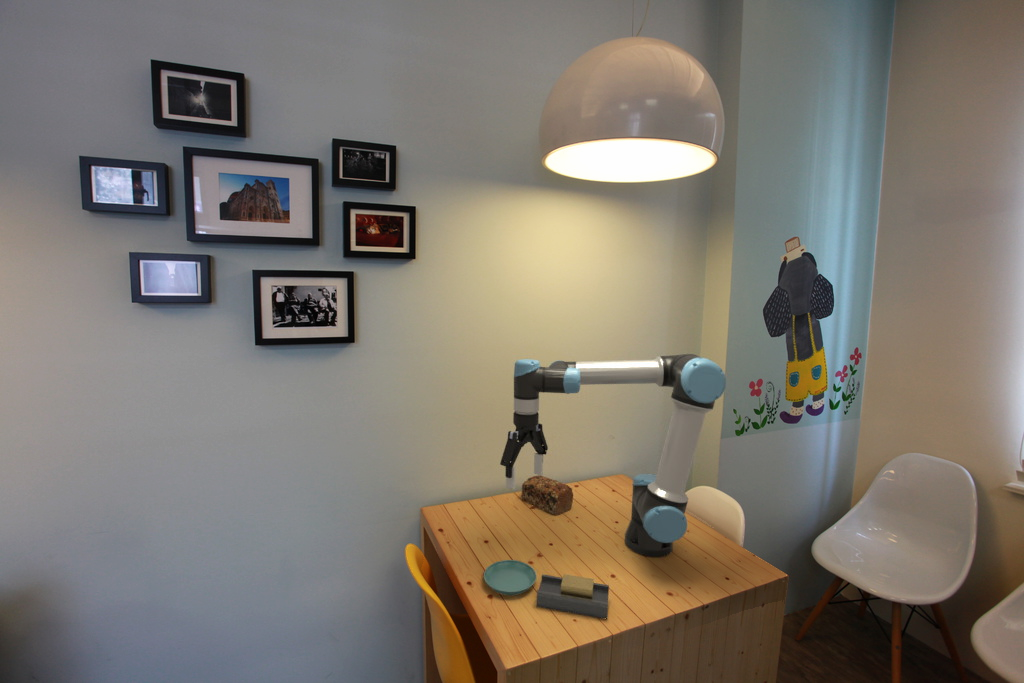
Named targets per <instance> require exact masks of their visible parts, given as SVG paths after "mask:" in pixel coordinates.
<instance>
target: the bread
mask: <svg viewBox="0 0 1024 683" xmlns="http://www.w3.org/2000/svg"><path fill="white" fill-rule="evenodd" d="M521 498H522V501H523V502H526V503H527V504H528V505H531V506H532V505H533V507H535V508H538V509H540V510H543V511H544V512H545V513H548V514H550V515H554V516H559V515H561V514H564V513H566V512H568V511H570V510H571V509H572V508H573V503H574V502H573V501H574V492H573V488H572V487H570V486H569V485H568V484H566V483H563V482H560V481H558V480H555V479H552V478H550V477H546V476H543V475H542V476H540V475H534V476H530V477H528V478H527V479H526V480H525V481H524V482H523V483H522V485H521Z"/></svg>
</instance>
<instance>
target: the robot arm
mask: <svg viewBox="0 0 1024 683" xmlns="http://www.w3.org/2000/svg"><path fill="white" fill-rule="evenodd" d="M726 378H727V377H726V375H725V372H724V371H723V368H721V366H720V365H719V364H718V363H716V362H714V361H713V360H712V359H708V358H706V357H702V356H699V355H698V354H692V353H684V354H683V353H682V354H674V355H660V356H658V355H657V356H656V357H655V359H626V360H624V359H622V360H621V359H620V360H619V359H618V360H586V361H585V360H582V361H564V360H560V359H559V360H555V361H553V362H552V363H550V365H549V366H546V367H545V366H541V364H540V361H539V360H537V359H531V358H529V359H527V358H523V359H522V358H521V359H518V360H516V361H515V362H514V370H513V411H514V412H513V415H512V417H513V420H512V422H513V425H514V426H515V430H514V431H511V430H509V431H508V432H507V440H506V443H505V446H504V450H503V452H502V456H501V460H500V464H499V465H501V466H502V467H504V468H505V487H506V488H507V489H512V490H515V489H516V466H514V465H515V462H516V461H517V459H518V456H519V454H520V452H521V450H522V448H523V447H524V446H525V444H528V443H530V445H531V446H532V447H533V448H534V450H535V453H533V454H534V455H533V456H534V458H533V461H534V462H533V474H534V475H536V476H538V475H540V476H543V468H544V467H543V466H544V465H543V464H544V455H545V456H546V455H547V451H548V450H549V447H548V443H547V440H546V437H545V433H544V430H543V424H542V423H539V420H540V419H539V418H540V417H539V411H540V393H544V394H545V393H551V394H566V395H570V394H578V393H579V392H580V390H581V385H583V386H585V385H587V386H588V385H630V384H631V385H634V384H635V385H637V384H638V385H639V384H641V385H643V384H644V385H645V384H647V385H648V384H650V385H651V384H655V385H656V386H658V387H660V388H661V387H663V388H664V387H667V388H668V387H669V388H673V389H672V392H671V397H670V399H671V401H672V402H673V405H674V406H673V409H672V414H671V417H670V418H671V419H670V422H669V425H668V429H667V433H666V436H665V441H664V444H663V448H662V452H661V454H660V455H661V456H660V459H659V464H658V467H657V472H656V474H651V473H640V474H637V475H635V476H634V477H633V479H632V480H633V481H632V495H631V516H630V517H631V518H630V521H629V524H628V526H627V528H626V531H625V532H624V544H625V546H626V547H627V548H628V549H629V550H630V551H632V552H634V553H636V554H639V555H641V556H645V557H650V558H661V557H666V556H668V555H670V554H672V552H673V546H674V542H676V541H678V540H680V539H681V538H682V537H684V535H685V534H686V531H687V529H688V521H687V520H688V519H687V516H686V515H685V513H686V509H687V505H688V502H689V497H688V495H687V494H686V492H685V491H686V487H687V484H688V479H689V476H690V472H691V469H692V465H693V461H694V458H695V454H696V450H697V446H698V443H699V439H700V435H701V432H702V428H703V424H704V421H705V417H706V414H707V413H709V412H711V411H713V409H714V407H715V402H716V400H718V399H719V398H721V397H722V395H724V392H725V390H726V387H727V379H726Z"/></svg>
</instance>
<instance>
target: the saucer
mask: <svg viewBox="0 0 1024 683" xmlns="http://www.w3.org/2000/svg"><path fill="white" fill-rule="evenodd" d="M483 578H484V581H485V583H486V585H487V586H488V587H489V588H490V589H491V590H493V591H494V592H496V593H498V594H499V595H503V596H510V597H511V596H518V595H521V594H523V593H525V592H527V591H528V590H530V589H531V587H533V586H534V584H535V583H536V581H537V572H536V571H535V569H534V568H533V567H532V566H530V565H529V564H528V563H525V562H522V561H520V560H515V559H504V560H499V561H496V562H494V563H493V562H492V563H491V564H490V565H488V566H487V567H486V569H485V570H484V572H483Z"/></svg>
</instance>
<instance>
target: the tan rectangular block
mask: <svg viewBox="0 0 1024 683" xmlns="http://www.w3.org/2000/svg"><path fill="white" fill-rule="evenodd" d="M562 578H563V579H562V583H561V594H562V595H568V596H574V597H580V598H586V599H591V600H592V597H593V584H594V583H595V582H594V581H595V580H594V578H589V577H584V576H577V575H571V574H566V573H564V574H563V575H562Z"/></svg>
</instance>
